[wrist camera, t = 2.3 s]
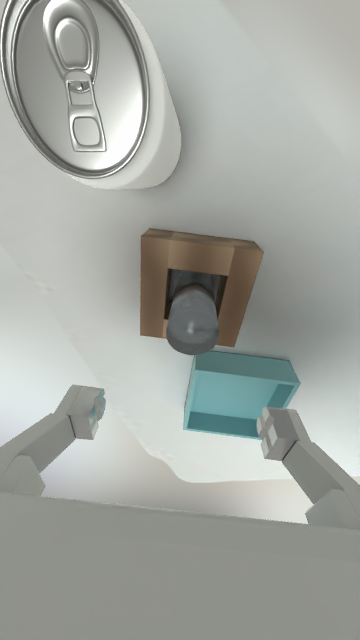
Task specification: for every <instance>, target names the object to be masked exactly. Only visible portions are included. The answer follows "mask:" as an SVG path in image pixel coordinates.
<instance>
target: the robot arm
mask: <svg viewBox="0 0 360 640" xmlns="http://www.w3.org/2000/svg"><path fill="white" fill-rule="evenodd" d="M103 396H104V389H102V388H94V387H87V386H80V385H72V386H71V387H70V388H69V390H68V392H67V393H66V395H65V396H64V398H63V400H62V401H61V403H60V405H59V406H58V408H57V409H56V411H55V413H54V414H49V415H48V416H46V417H45V418H43V419H42V420H40V421H39V422H37V423H36V424H34V425H33V426H31V427H30V428H29V429H27V430H25V431H24V432H22V433H21V434H19V435H18V436H16V437H15V438H13V439H12V440H11V441H9V442H7V443H6V444H5V445H3V446H1V447H0V640H360V485H359V484H358V483H357V482H356V481H355V480H353V479H352V478H351V477H350V476H349V475H348V474H347V473H346V472H345V471H344V470H343V469H342V468H341V467H340V466H339V465H338V464H337V463H335V462H334V461H333V460H332V459H331V458H330V457H329V456H328V455H327V454H326V453H325V452H324V451H323V450H322V449H321V448H320V447H319V446H317V445H316V444H315V443H313V442H311V440H310V438H309V436H308V434H307V432H306V430H305V428H304V425H303V423H302V421H301V419H300V417H299V415H298V413H297V411H296V410H293V409H284V408H276V407H266V406H265V407H263V409H262V415H260V416H259V417H258V419H257V432H258V435H259V437H260V438H261V439H262V440H263V441H262V443H261V447H262V451H263V455H264V458H265V459H271V460H278V461H282V463H283V464H284V466H285V467H286V468H287V470H288V471H289V472H290V474H291V475H292V476H293V478H294V479H295V480H296V481H297V483H298V484H299V485H300V487H301V488H302V490H303V491H304V492H305V493H306V495H307V496H308V498H309V499H310V500H311V502H312V503H313V504H314V505H313V506H312V507H311V508H309V509H308V511H307V512H306V514H305V515H306V517H307V520H308V524H302V523H292V522H283V521H274V520H264V519H255V518H246V517H245V518H244V517H236V516H227V515H216V514H208V513H199V512H189V511H180V510H171V509H161V508H152V507H142V506H132V505H124V504H114V503H105V502H95V501H85V500H76V499H67V498H58V497H48V496H41V494H42V492H43V490H44V488H45V483H44V481H43V479H42V477H41V476H40V472H42V471H43V470H44V469H45V468H46V467H47V466H48V465H49V464H50V463H51V462H52V461H53V460H54V459H55V458H56V457H57V456H58V455H60V454H61V453H62V451H64V450H65V449H66V448H67V447H68V446H69V445H70V444H71V443H72V442H73V441H74V440H75V438H77V439H89V440H93V439H94V436H95V434H96V431H97V429H98V421H99V420H100V419H101V418H102V416H103V414H104V410H105V403H106V401H105V398H104V397H103Z"/></svg>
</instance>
